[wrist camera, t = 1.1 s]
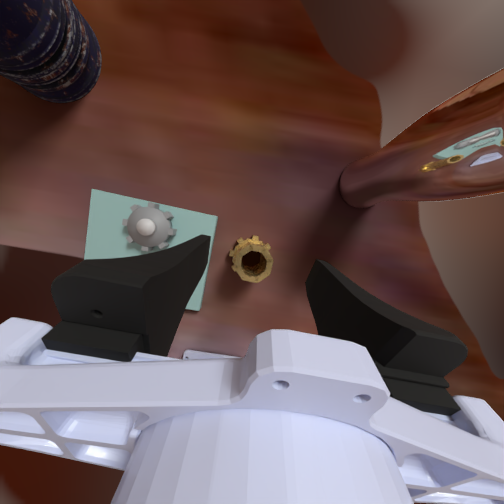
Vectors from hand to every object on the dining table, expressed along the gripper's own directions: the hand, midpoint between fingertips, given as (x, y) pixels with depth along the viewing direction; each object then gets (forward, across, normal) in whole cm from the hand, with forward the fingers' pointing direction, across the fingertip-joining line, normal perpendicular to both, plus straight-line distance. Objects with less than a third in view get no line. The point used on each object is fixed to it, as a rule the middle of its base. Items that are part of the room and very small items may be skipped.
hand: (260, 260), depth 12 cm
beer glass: (+15, -12, -5) cm, 20 cm away
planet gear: (+10, 0, +6) cm, 11 cm away
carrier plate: (+9, +12, +7) cm, 17 cm away
